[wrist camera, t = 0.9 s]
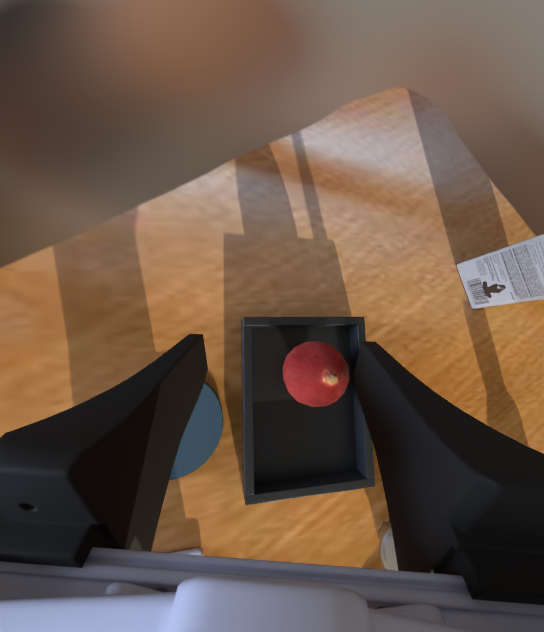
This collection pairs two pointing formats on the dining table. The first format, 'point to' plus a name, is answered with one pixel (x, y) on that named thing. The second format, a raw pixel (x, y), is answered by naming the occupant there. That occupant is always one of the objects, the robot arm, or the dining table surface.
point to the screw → (387, 547)
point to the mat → (199, 434)
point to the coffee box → (505, 275)
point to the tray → (300, 414)
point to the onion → (315, 373)
